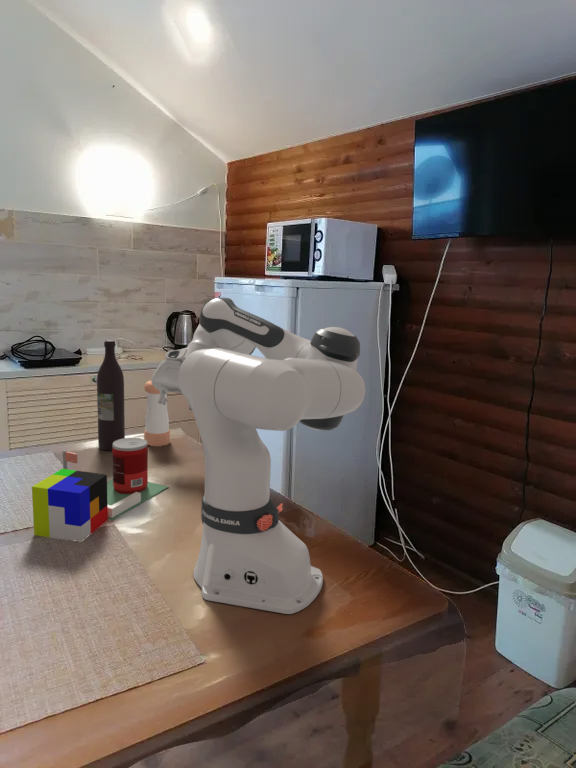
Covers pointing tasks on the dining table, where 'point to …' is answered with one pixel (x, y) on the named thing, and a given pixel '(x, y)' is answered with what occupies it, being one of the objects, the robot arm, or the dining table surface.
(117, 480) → the canned food
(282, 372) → the robot arm
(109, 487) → the felt runner
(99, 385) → the wine bottle
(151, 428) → the salt shaker
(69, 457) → the cup fence
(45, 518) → the puzzle toy
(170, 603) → the dining table surface
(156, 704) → the dining table surface
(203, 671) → the dining table surface
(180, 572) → the dining table surface
